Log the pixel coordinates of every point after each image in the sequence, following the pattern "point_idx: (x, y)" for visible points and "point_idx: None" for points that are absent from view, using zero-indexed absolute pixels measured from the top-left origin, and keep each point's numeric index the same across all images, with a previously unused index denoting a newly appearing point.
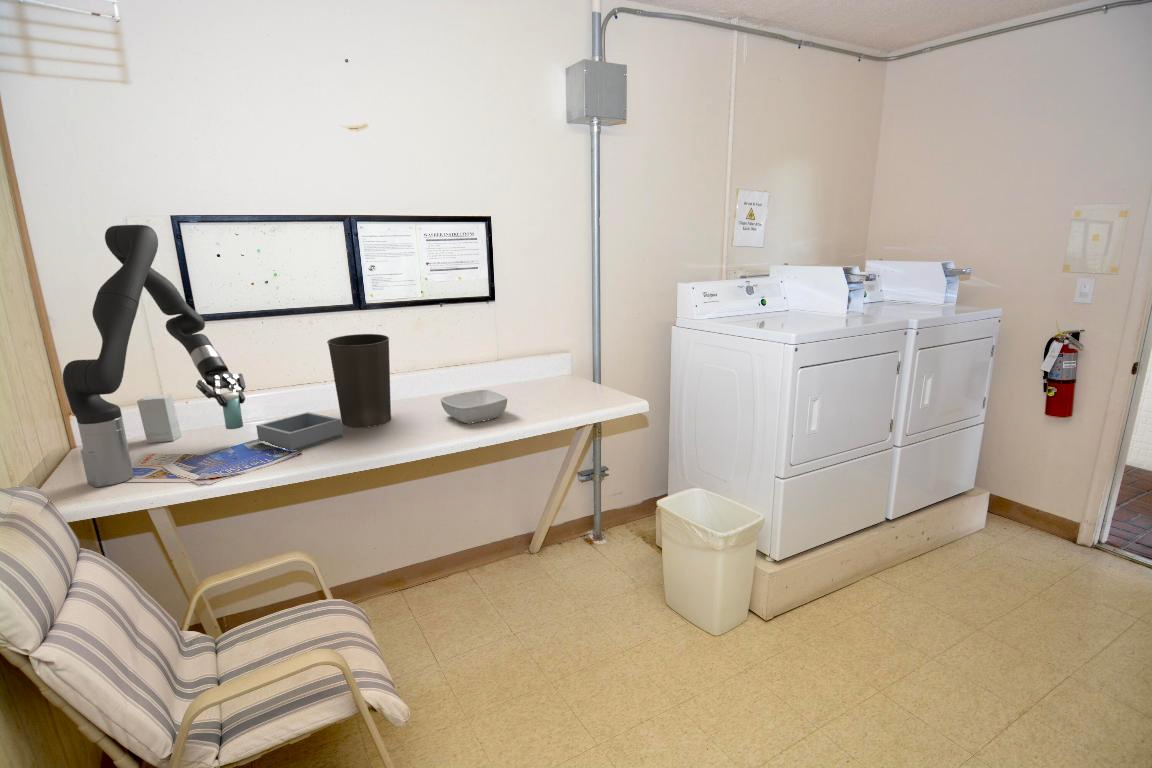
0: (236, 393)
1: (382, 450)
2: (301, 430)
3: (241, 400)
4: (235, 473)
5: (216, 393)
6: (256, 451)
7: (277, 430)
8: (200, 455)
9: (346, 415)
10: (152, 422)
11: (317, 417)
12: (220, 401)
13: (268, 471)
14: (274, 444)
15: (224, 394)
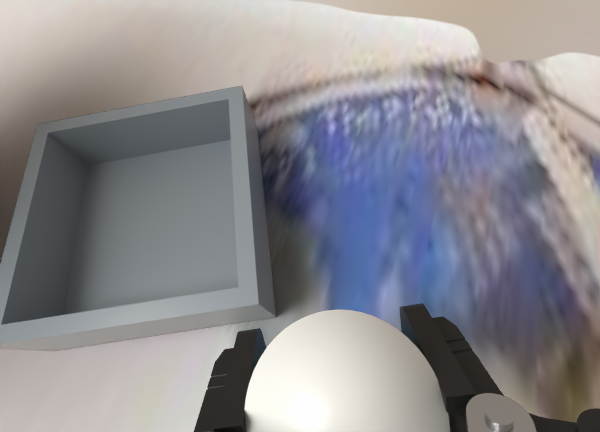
0: (287, 335)
1: (130, 14)
2: (195, 94)
3: (262, 349)
4: (433, 80)
5: (523, 408)
6: (323, 222)
7: (243, 149)
8: (503, 349)
9: None
10: None
11: (29, 241)
12: (459, 331)
13: (364, 45)
14: (263, 206)
15: (407, 409)
